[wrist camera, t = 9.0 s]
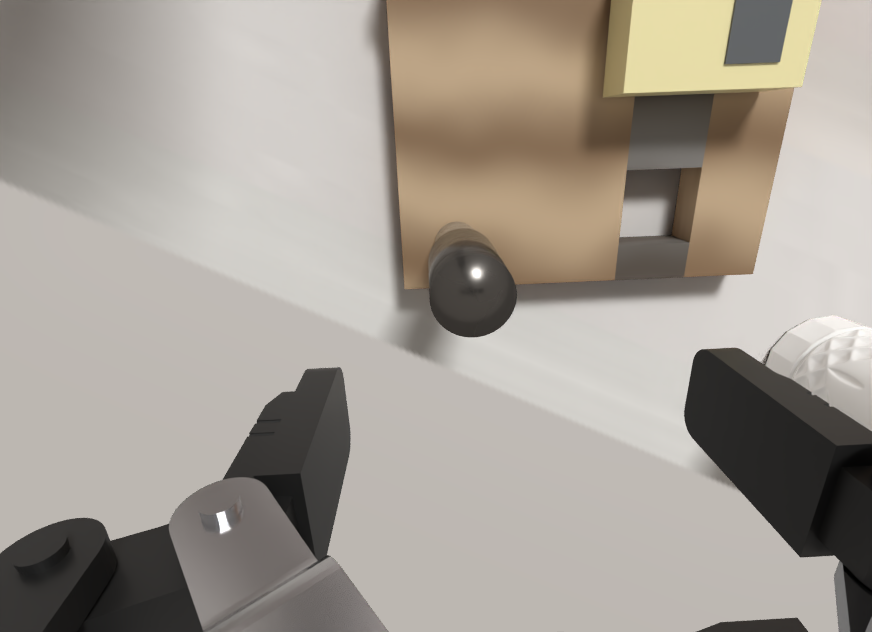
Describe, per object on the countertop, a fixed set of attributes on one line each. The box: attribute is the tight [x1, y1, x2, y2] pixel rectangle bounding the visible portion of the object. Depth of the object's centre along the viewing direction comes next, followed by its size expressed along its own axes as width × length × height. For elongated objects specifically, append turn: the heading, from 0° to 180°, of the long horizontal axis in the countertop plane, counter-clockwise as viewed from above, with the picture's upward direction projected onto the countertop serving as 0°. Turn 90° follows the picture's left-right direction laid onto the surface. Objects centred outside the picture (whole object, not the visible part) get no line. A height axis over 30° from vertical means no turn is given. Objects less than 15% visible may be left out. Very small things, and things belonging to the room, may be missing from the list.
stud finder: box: [603, 0, 822, 98], centre depth 21 cm, size 5×8×3 cm, turn 92°
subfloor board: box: [386, 0, 794, 289], centre depth 24 cm, size 16×20×3 cm
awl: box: [428, 222, 517, 337], centre depth 21 cm, size 3×3×9 cm
